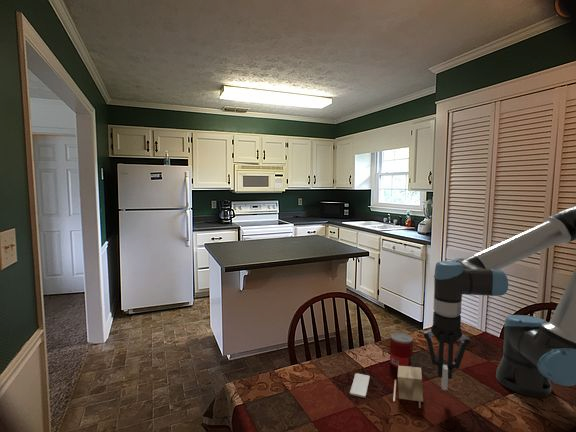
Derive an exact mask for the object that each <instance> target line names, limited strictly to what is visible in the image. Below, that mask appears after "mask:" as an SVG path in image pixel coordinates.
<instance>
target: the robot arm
mask: <svg viewBox="0 0 576 432" xmlns="http://www.w3.org/2000/svg"><path fill="white" fill-rule="evenodd" d="M573 241H576V204H575V205H573V206H570V207H568V208H564V209H562V210H560V211H558V212H555V213H554V214H551V215H549V216H547V217H546V218H545V219H544V221H543V222H542V223H540V224H538V225H536V226H533V227H531V228H529V229H526V230H525V231H522V232H520V233H518V234H516V235H513V236H512V237H509V238H507V239H505V240H503V241H501V242H499V243H497V244H495V245H492V246H490V247H487V248H486V249H484V250H482V251H478V252H477V253H475V254H473V255H470V256H468V257H465V258H460V257H458V258H454V259H452V260H440V261H438V262H436V263H435V268H434V276H433V277H434V278H433V279H434V280H433V281H434V283H433V284H434V285H433V288H434V289H433V290H434V291H433V292H434V294H433V315H432V317H433V318H432V325H431V327H430V329H428V330H423V337H424V338H425V340H426V342H427V346H428V351H429V356H430V359H431V364H432V365H434V366H436V367H437V377H439V378H440V380H441V381H440V382H441V384H440V386H441V390H442V391H443V390H444V391H448V386H449V385H448V384H449V383H448V382H449V380H452V378H453V370H454V369H457V370H458V369H459V368H460V366H461V364H462V361H463V358H464V355H465V351H466V348H467V346H469V344H471V340H470V338H469V336H467V335H464V334H463V331H462V330H461V328H462V327H461V325H462V323H461V322H462V316H461V314H462V300H463V299H462V298H463V295H466V296H467V295H468V296H491V297H496V296H499V297H500V296H504V295H505V294H506V293H508V290H509V279H508V275H506V273H505V272H504V271H502V270H501V269H505V268H506V267H508V266H511V265H513V264H515V263H517V262H520V261H522V260H524V259H526V258H528V257H531V256H533V255H535V254H537V253H540V252H542V251H544V250H546V249H548V248H551V247H554V246H555V245H557V244H560V243H561V244H569V243H571V242H573ZM561 295H562V296H561V297H560V300H559V301H558V303H557V306H556V307H555V310H554V312H553V315H552V316H551V319H550V320H549V321H547V320H545V319H543V318H540V317H536V316H532V315H524V314H522V315H521V314H512V315H507V316H506V317H505V319H504V324H503V327H504V328H503V331H504V332H503V346H502V347H503V348H502V349H503V352H502V358H501V360H500V362H499V363H498V365H497V368H496V374H495V378H496V380H497V381H498V382H499V384H500V385H502V386H503V387H505V388H507V389H508V390H510V391H513V392H515V393H517V394H520V395H523V396H527V397H532V398H546V397H549V396H550V395H551V394H552V383H554V384H556V385H559V386H563V387H573V386H575V385H576V267H575V268H574V270H573V271H572V274H571V276H570V278H569V280H568V282H567V285H566V286H565V289H564V291H563V293H562V294H561ZM433 336H434V337H435V339H436V340H437V342H438V352H437V353H438V354H437V357H436V355H435V349H434V345H433V340H432V338H433ZM458 340H460V343H459V345H458V347H457V351H456V354H455V357H454V344H455V343H456V342H458ZM445 344H447V357H446V359H447V360H446V364H444V348H445ZM453 357H454V358H453Z"/></svg>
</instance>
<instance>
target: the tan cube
mask: <svg viewBox="0 0 576 432" xmlns="http://www.w3.org/2000/svg"><path fill="white" fill-rule="evenodd" d="M422 375H423V374H422V367H417V366H416V367H415V366H412V367H408V366H398V368H397V388H398V398H399V399H400V400H407V401H413V402H414V401H415V402H419V401H421V402H422V403H424V390H423V389H424V387H423V376H422Z"/></svg>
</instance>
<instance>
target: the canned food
mask: <svg viewBox="0 0 576 432" xmlns="http://www.w3.org/2000/svg"><path fill="white" fill-rule="evenodd" d="M389 343H390V344H389V363H390V364H391V366H393V367H395V368H397V369H398V366H408V367H413V355H414V353H413V351H414V339H413V337H412V336H411V335H409V334H407V333H403V332H393V333H391V334H390V339H389Z"/></svg>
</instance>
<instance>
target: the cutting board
mask: <svg viewBox="0 0 576 432" xmlns="http://www.w3.org/2000/svg"><path fill="white" fill-rule="evenodd" d="M353 377H354V378H353V382H352V384H351V387H350V390H349V395H351V396H355V397H358V398H364V399H366V395H367V393H368V386H369V382H370V379H371V378H370V377H371V376H370V375H367V374H364V373H363V374H362V373H356V372H355V374H354V376H353ZM393 386H394V387H393V395H392V396H393V398H392V399H393V400H392V402H393V403H395V402H396V391H397V390H396V389H397V379H396V378H395V379H394V385H393ZM421 404H422V403H421V401H418V408H419V409H421V408H422V405H421Z"/></svg>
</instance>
